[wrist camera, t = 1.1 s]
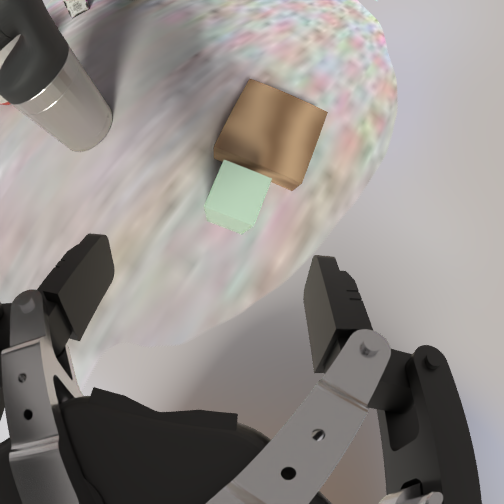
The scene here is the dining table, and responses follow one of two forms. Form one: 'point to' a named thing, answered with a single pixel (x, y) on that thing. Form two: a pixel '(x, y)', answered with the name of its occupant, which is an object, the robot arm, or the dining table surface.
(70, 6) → the candy bar box
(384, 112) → the dining table surface
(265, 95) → the wooden block
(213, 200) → the green pillar
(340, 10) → the dining table surface
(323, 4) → the dining table surface
